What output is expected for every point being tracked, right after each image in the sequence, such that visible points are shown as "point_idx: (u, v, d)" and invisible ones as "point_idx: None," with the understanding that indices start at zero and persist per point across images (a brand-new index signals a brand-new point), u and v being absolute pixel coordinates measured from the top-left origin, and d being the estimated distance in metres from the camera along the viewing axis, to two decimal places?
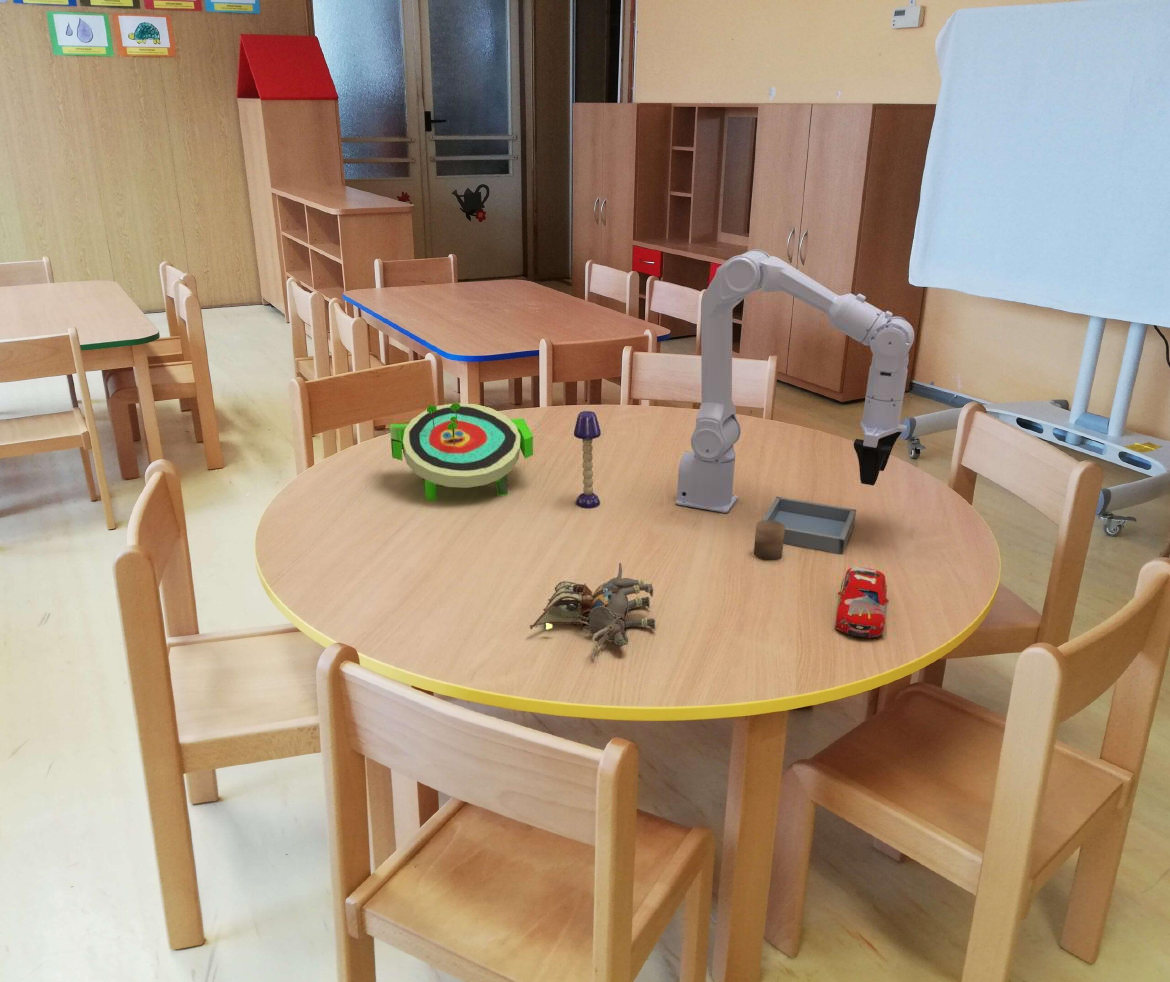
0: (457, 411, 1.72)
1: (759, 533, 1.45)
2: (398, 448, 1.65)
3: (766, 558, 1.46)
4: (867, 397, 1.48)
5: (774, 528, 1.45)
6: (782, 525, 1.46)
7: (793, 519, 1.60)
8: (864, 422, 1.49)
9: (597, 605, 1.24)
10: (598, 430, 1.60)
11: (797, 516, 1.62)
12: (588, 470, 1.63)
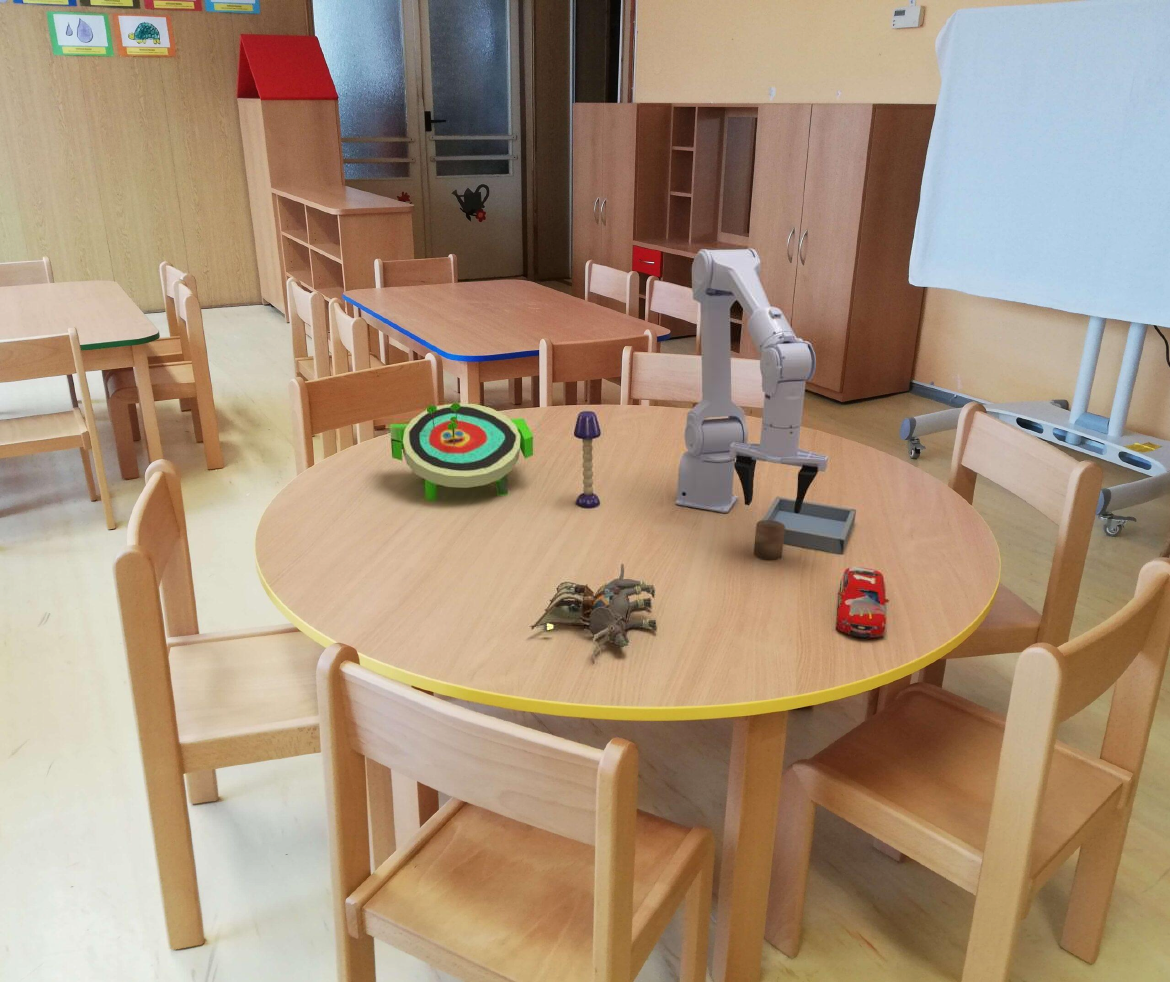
0: (457, 411, 1.72)
1: (759, 533, 1.45)
2: (398, 448, 1.65)
3: (766, 558, 1.46)
4: None
5: (774, 528, 1.45)
6: (782, 525, 1.46)
7: (793, 519, 1.60)
8: None
9: (598, 606, 1.24)
10: (598, 430, 1.60)
11: (797, 516, 1.62)
12: (588, 470, 1.63)
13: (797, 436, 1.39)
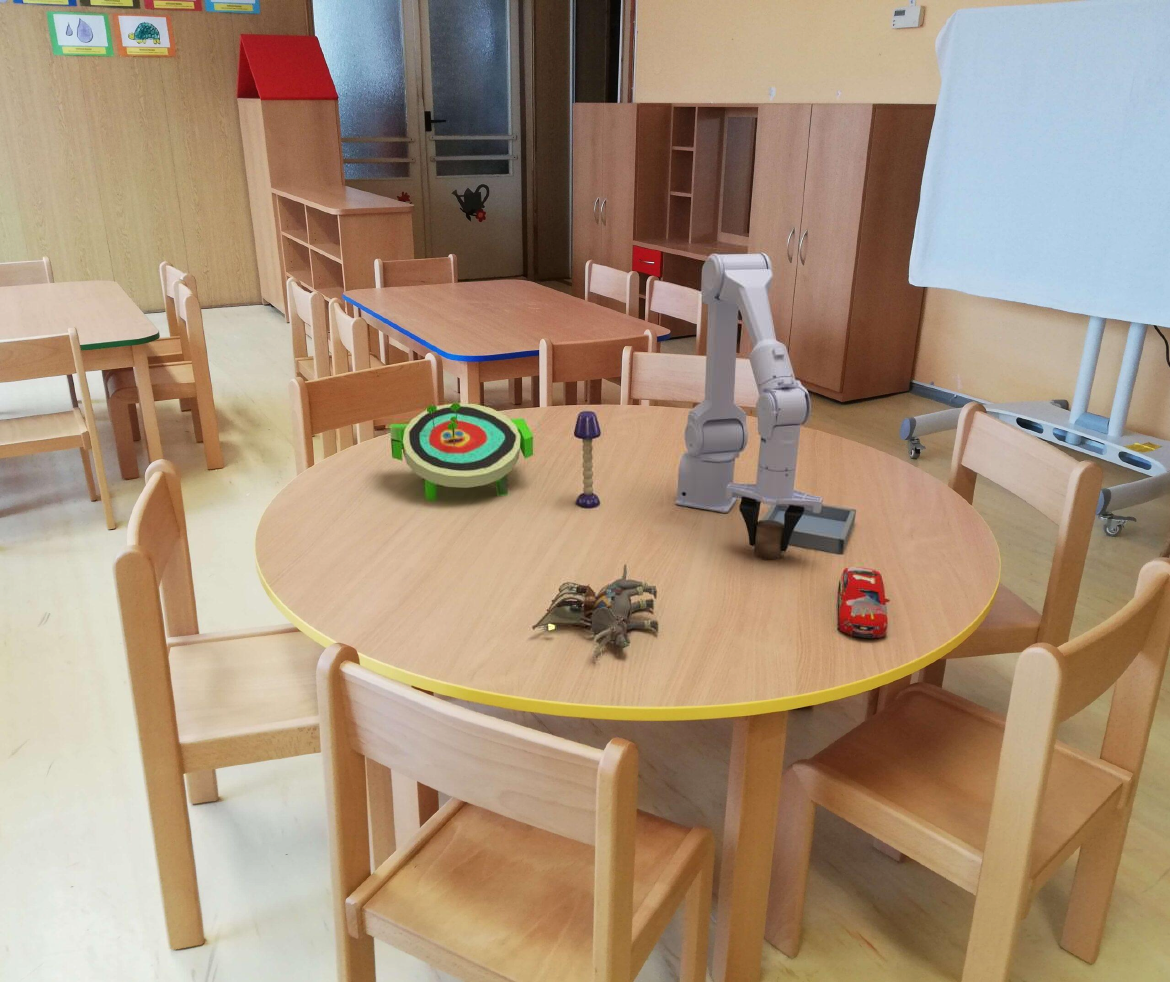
0: (457, 411, 1.72)
1: (759, 532, 1.45)
2: (398, 448, 1.65)
3: (766, 558, 1.46)
4: None
5: (774, 528, 1.45)
6: (782, 525, 1.46)
7: None
8: None
9: (600, 606, 1.24)
10: (598, 430, 1.60)
11: None
12: (588, 470, 1.63)
13: (793, 478, 1.41)
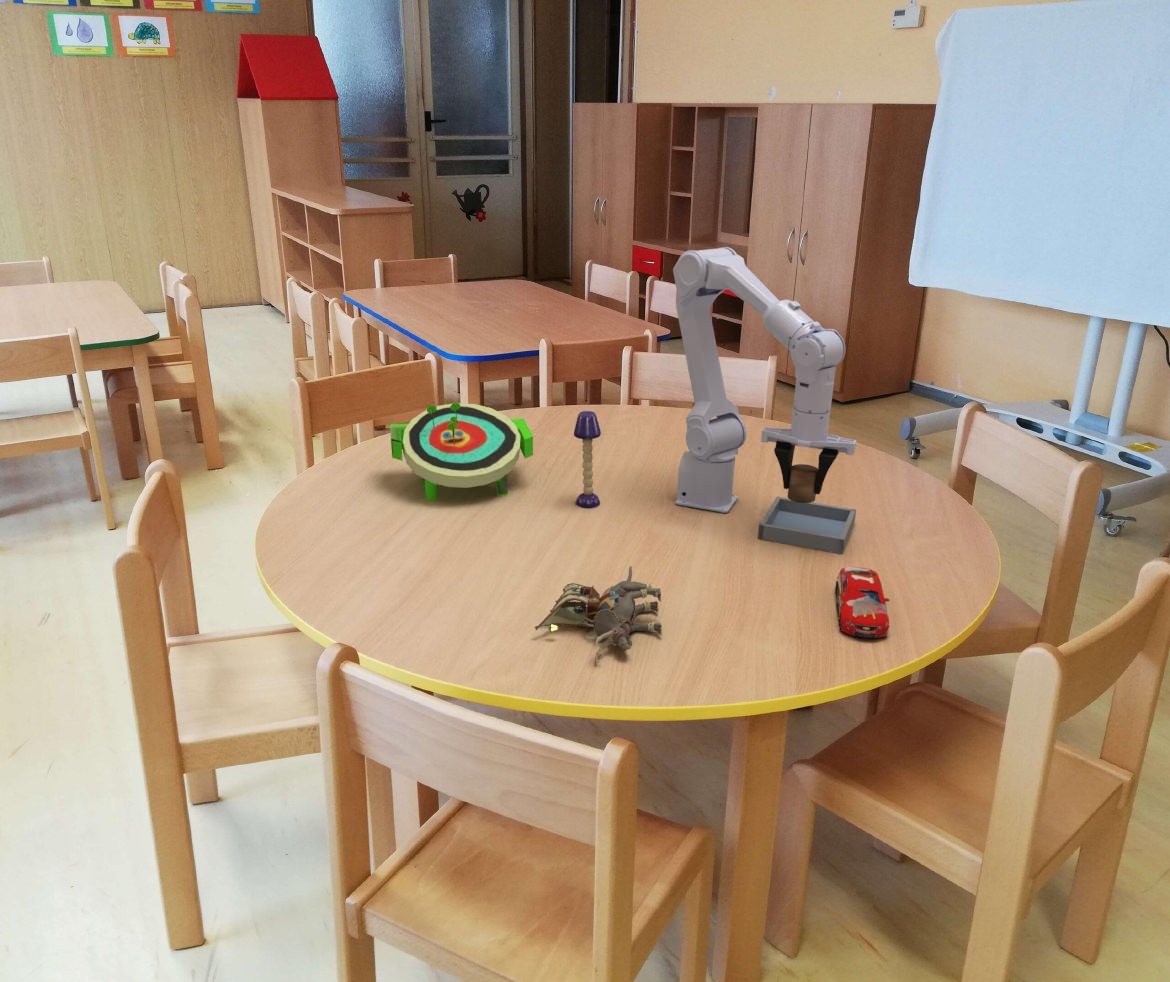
0: (457, 411, 1.72)
1: (794, 475, 1.49)
2: (398, 448, 1.65)
3: (800, 500, 1.50)
4: None
5: (808, 471, 1.49)
6: (816, 468, 1.50)
7: (793, 519, 1.60)
8: None
9: (603, 608, 1.23)
10: (598, 430, 1.60)
11: (797, 516, 1.62)
12: (588, 470, 1.63)
13: (827, 421, 1.45)
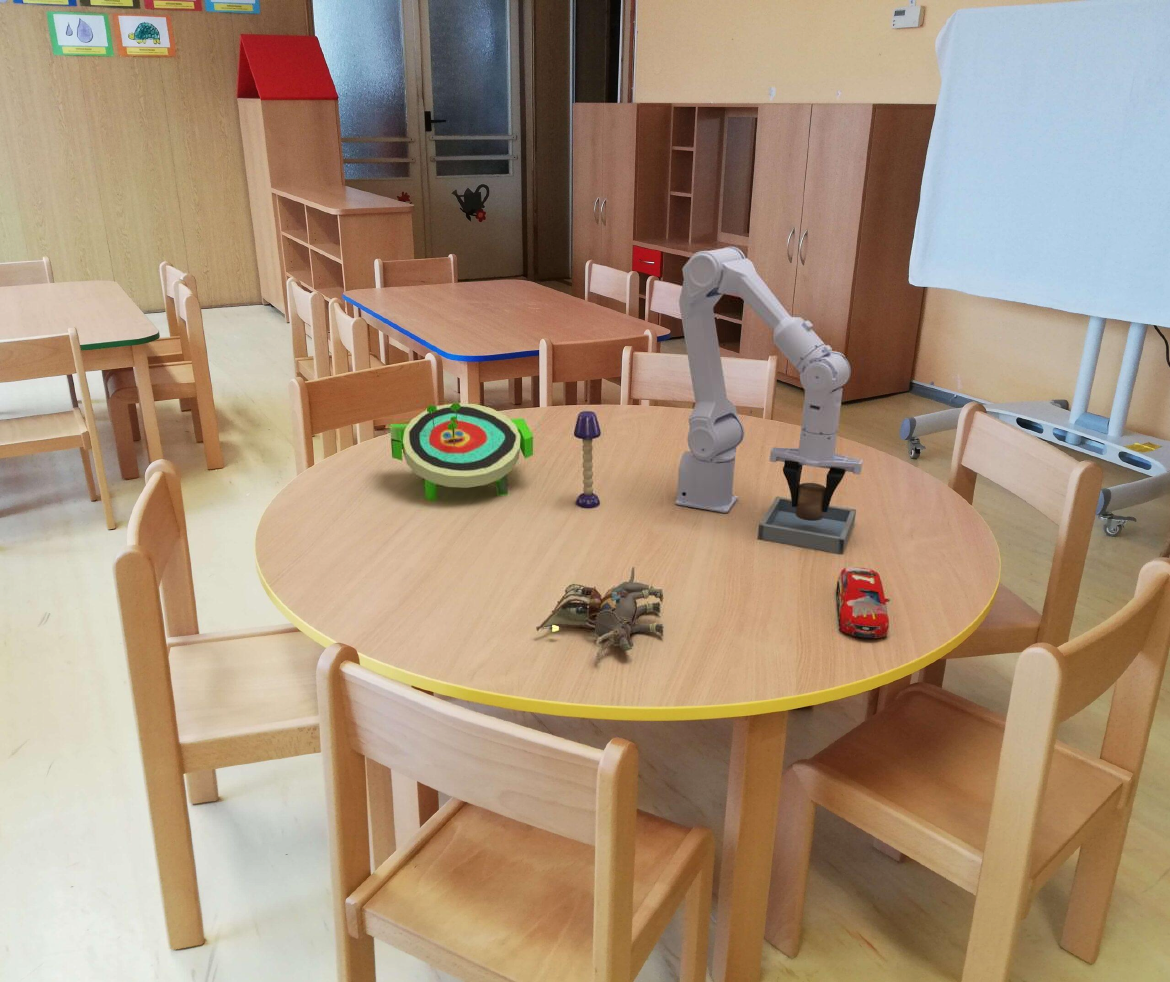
0: (457, 411, 1.72)
1: (802, 494, 1.53)
2: (398, 448, 1.65)
3: (808, 518, 1.53)
4: None
5: (815, 489, 1.53)
6: (823, 487, 1.54)
7: (793, 519, 1.60)
8: None
9: (605, 609, 1.23)
10: (598, 430, 1.60)
11: None
12: (588, 470, 1.63)
13: (834, 441, 1.49)
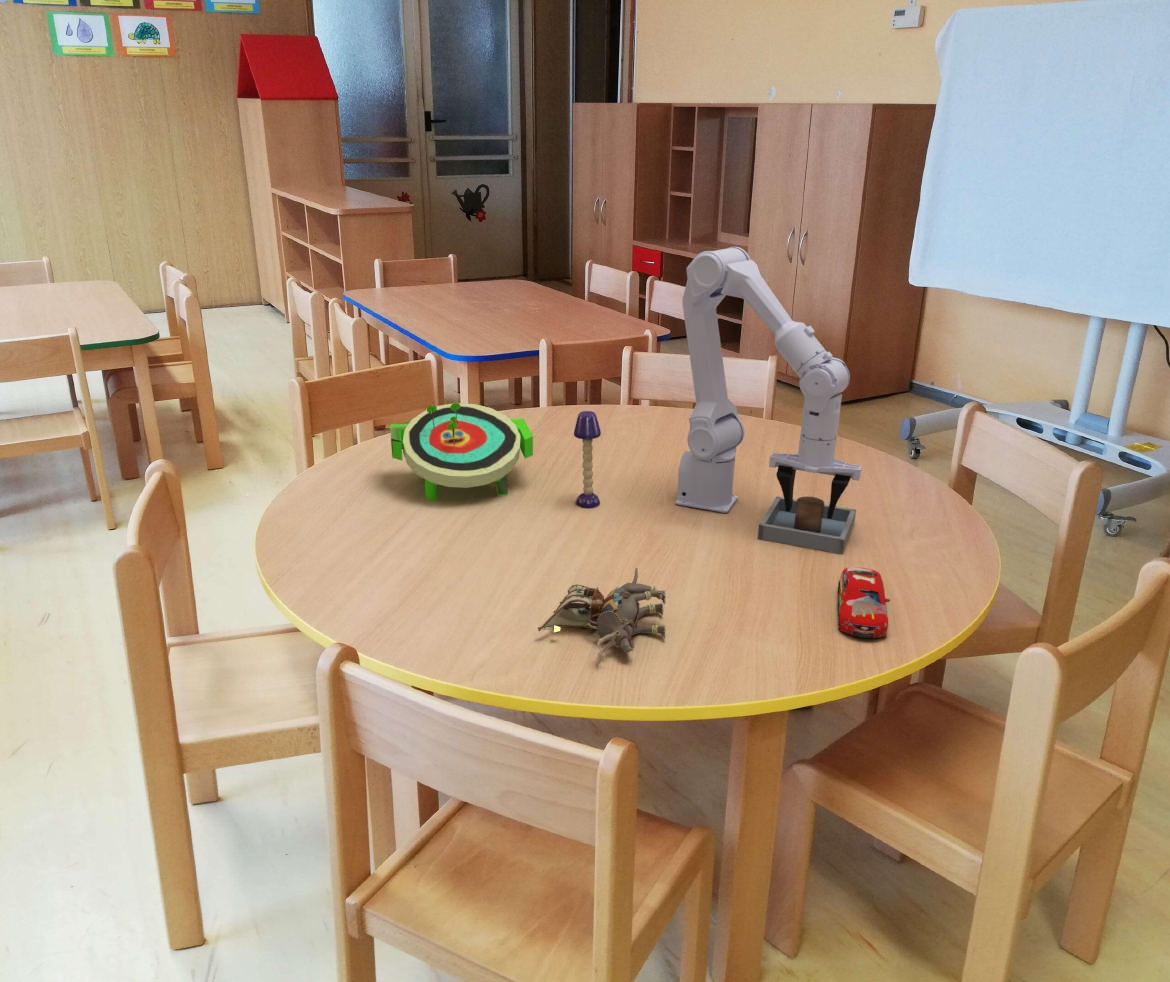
0: (457, 411, 1.72)
1: (800, 508, 1.54)
2: (398, 448, 1.65)
3: None
4: None
5: (814, 503, 1.54)
6: (821, 501, 1.55)
7: (793, 519, 1.60)
8: None
9: (607, 610, 1.23)
10: (598, 430, 1.60)
11: None
12: (588, 470, 1.63)
13: (834, 447, 1.49)
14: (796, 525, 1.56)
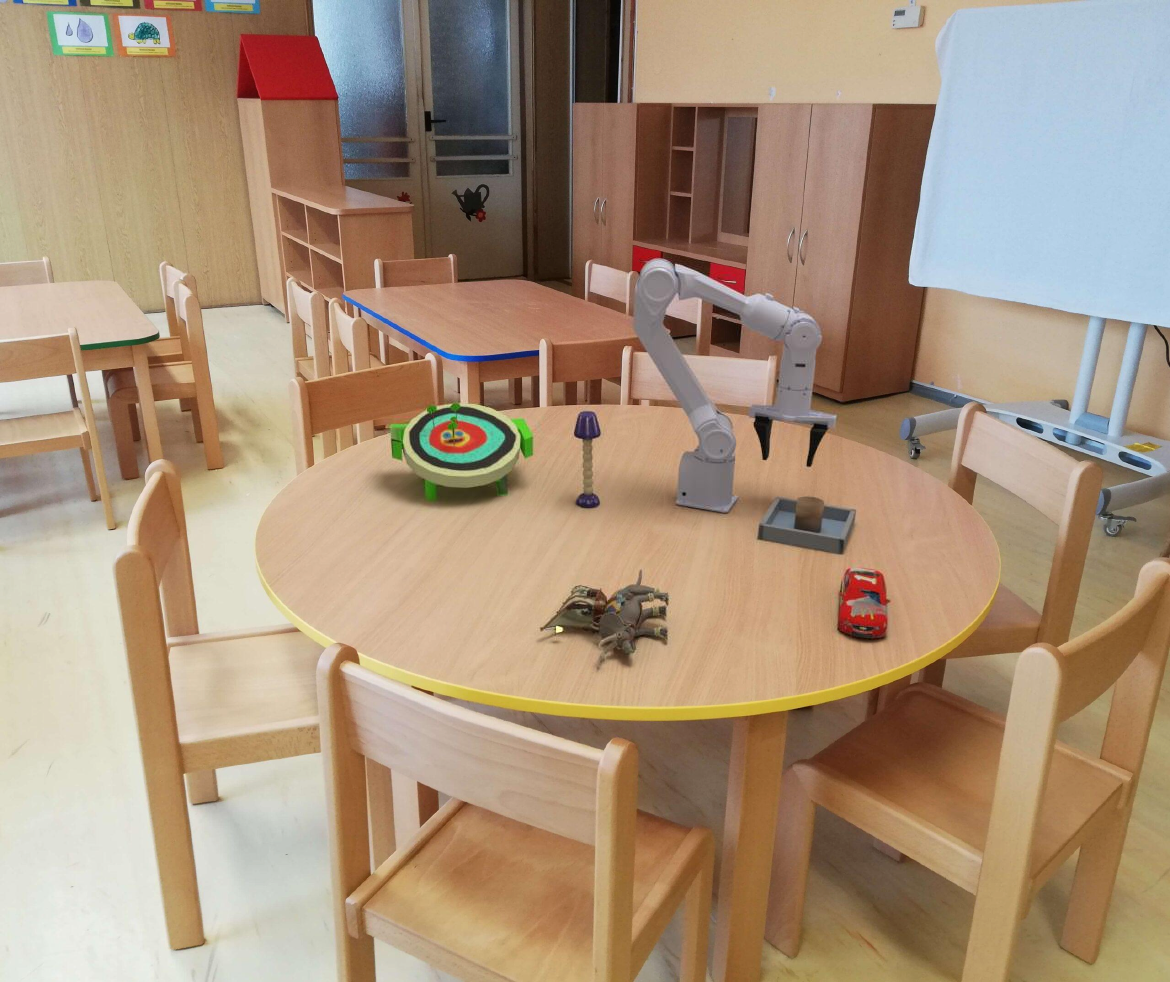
0: (457, 411, 1.72)
1: (800, 508, 1.54)
2: (398, 448, 1.65)
3: None
4: None
5: (814, 503, 1.54)
6: (821, 501, 1.55)
7: (793, 519, 1.60)
8: None
9: (609, 611, 1.22)
10: (598, 430, 1.60)
11: None
12: (588, 470, 1.63)
13: (810, 397, 1.57)
14: (796, 525, 1.56)
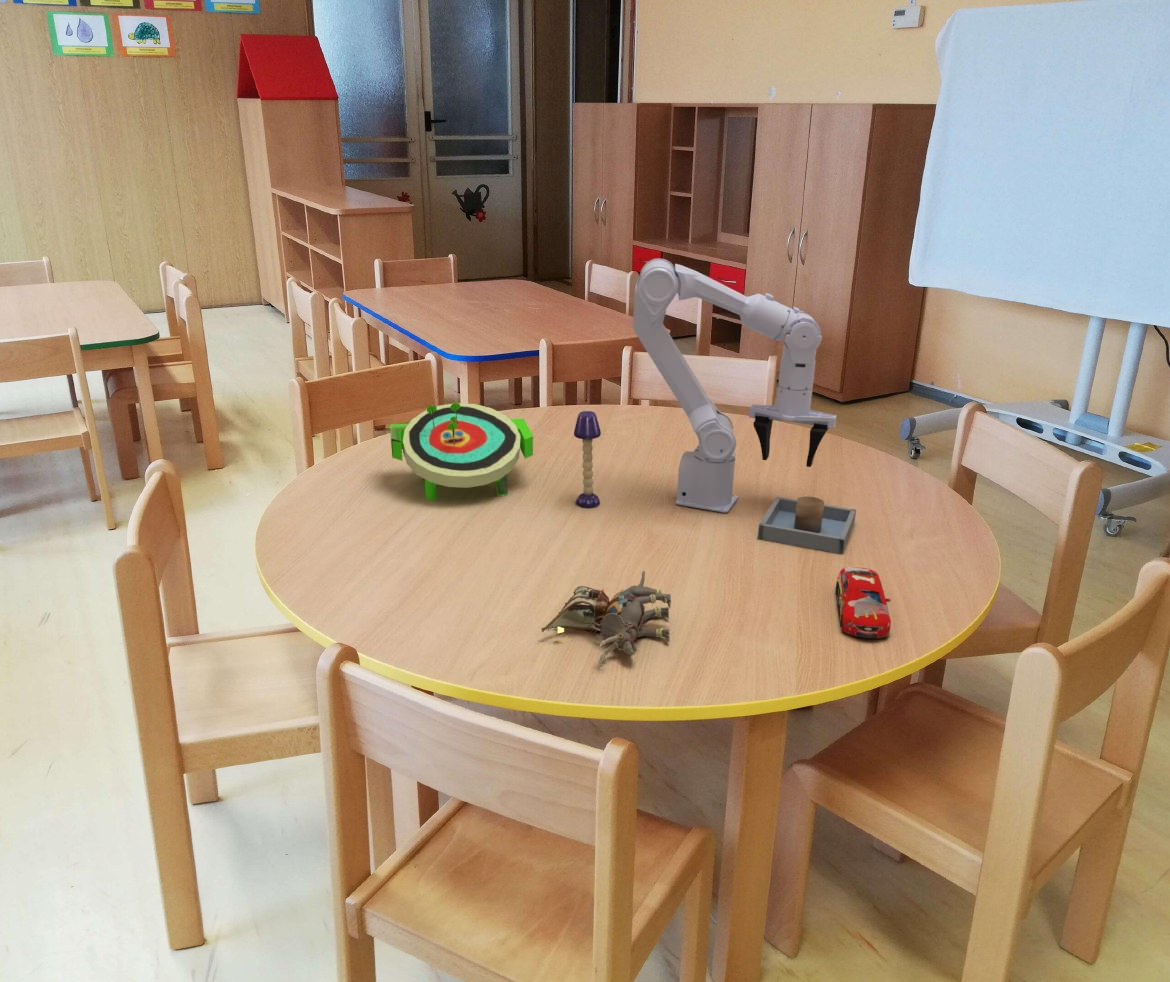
0: (457, 411, 1.72)
1: (800, 508, 1.54)
2: (398, 448, 1.65)
3: None
4: None
5: (814, 503, 1.54)
6: (821, 501, 1.55)
7: (793, 519, 1.60)
8: None
9: (611, 612, 1.22)
10: (598, 430, 1.60)
11: None
12: (588, 470, 1.63)
13: (810, 397, 1.57)
14: (796, 525, 1.56)
